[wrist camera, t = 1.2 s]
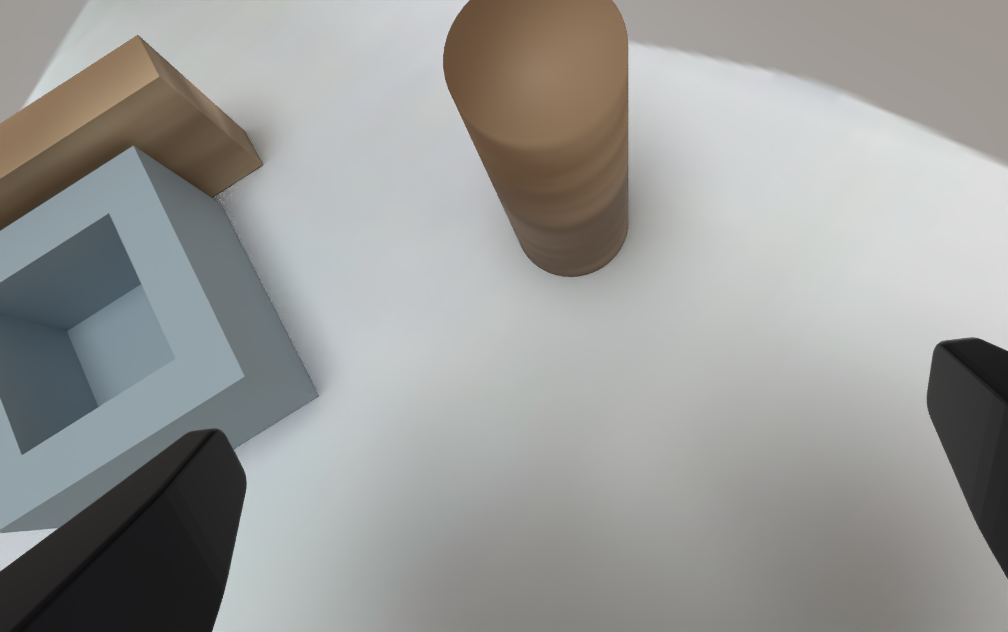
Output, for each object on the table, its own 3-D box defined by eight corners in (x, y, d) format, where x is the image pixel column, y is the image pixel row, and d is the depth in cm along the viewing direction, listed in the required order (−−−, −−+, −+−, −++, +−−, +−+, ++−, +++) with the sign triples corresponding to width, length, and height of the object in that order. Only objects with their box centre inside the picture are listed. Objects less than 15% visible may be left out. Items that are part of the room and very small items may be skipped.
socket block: (321, 396, 24) (244, 376, 19) (118, 522, 24) (-7, 533, 20) (224, 206, 26) (133, 145, 22) (38, 324, 27) (-93, 289, 22)
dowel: (645, 192, 24) (657, -3, 14) (601, 293, 23) (583, 163, 14) (543, 156, 25) (488, -51, 15) (499, 253, 24) (413, 104, 14)
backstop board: (262, 165, 26) (159, 76, 20) (-17, 342, 27) (-197, 305, 21) (244, 130, 27) (137, 34, 21) (-31, 306, 27) (-211, 259, 21)
